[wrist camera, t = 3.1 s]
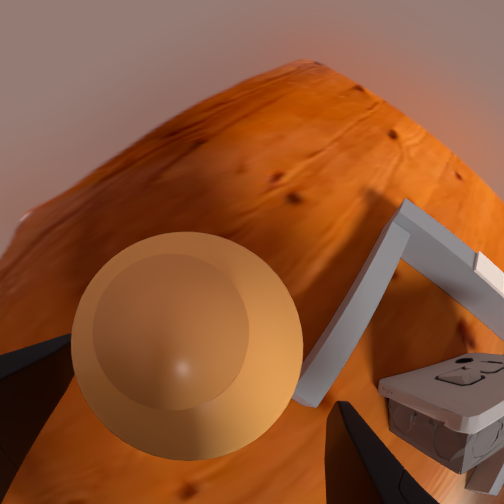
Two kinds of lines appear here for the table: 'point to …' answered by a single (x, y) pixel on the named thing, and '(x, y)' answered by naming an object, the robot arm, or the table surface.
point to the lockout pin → (187, 346)
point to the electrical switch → (450, 409)
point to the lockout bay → (373, 287)
